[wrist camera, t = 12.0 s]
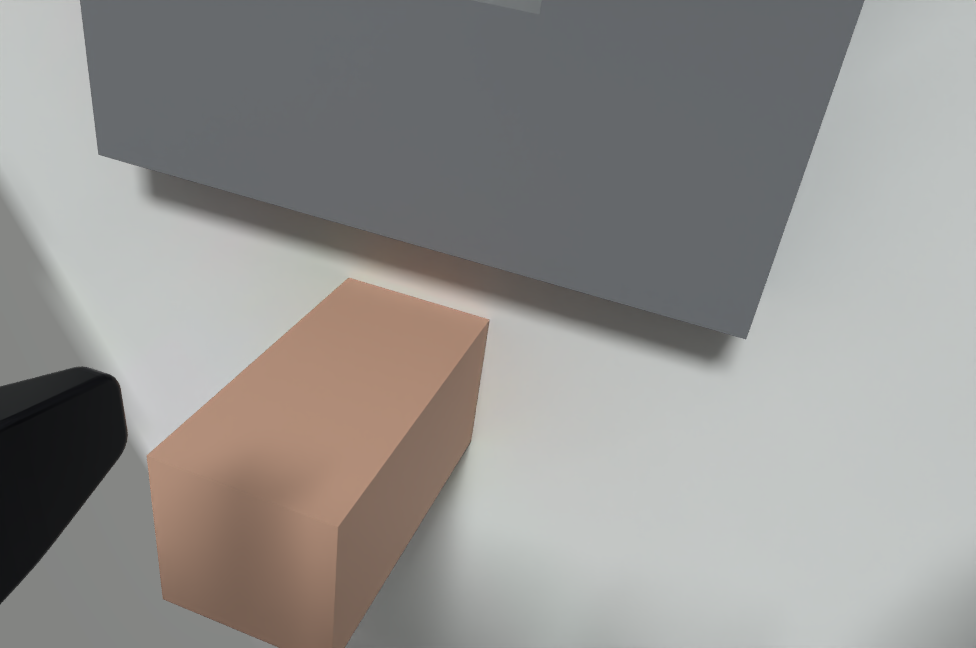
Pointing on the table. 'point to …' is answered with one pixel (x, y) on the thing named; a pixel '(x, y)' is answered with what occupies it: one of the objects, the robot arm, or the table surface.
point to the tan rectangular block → (316, 466)
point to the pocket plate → (495, 126)
